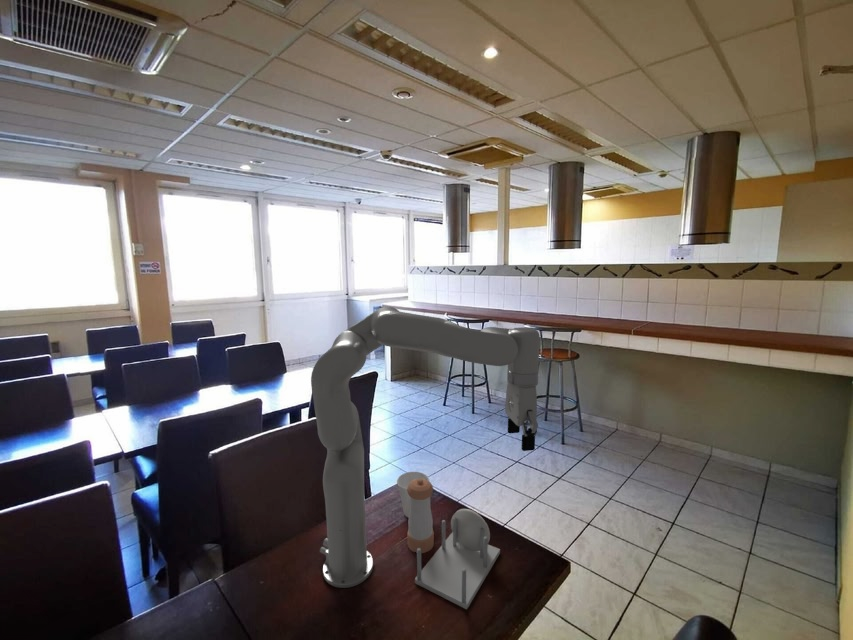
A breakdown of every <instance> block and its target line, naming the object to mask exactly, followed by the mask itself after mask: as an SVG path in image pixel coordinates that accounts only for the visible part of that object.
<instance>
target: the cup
mask: <svg viewBox="0 0 853 640" xmlns="http://www.w3.org/2000/svg"><path fill="white" fill-rule="evenodd" d="M415 479H426V480H428V481H429V482H430V478H429V476H428V475H427V474H425V473H423V472H419V471H408V472H405V473H402V474H400V475H399V476H398V478H397V480H396V484H397V485H398V490H399V491H398V492H399V495H400V501H401V505H402V512H403V515H404V516H405V517H407V518H408V519H409V514H410V496H409V494H408V492H407V488H408V485H409V484H410V482H411V481H413V480H415Z"/></svg>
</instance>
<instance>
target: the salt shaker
mask: <svg viewBox="0 0 853 640" xmlns="http://www.w3.org/2000/svg"><path fill="white" fill-rule="evenodd" d="M407 492H408V494H409V496H410V514H409V518H408V520H407V521H408V524H407V525H408V530H407V533H406V534H407V537H406V538H407V547H408V549H409V550H410V551H411V552H413V553H415V552H416V554H417V549H418V548H420V549H421V554H425V553H428V552H430V551H431V550H432V549H433V547H434V546H435V545H434V543H435V541H434V540H435V539H434V538H435V536H434V535H435V532H434V529H433V524H434V523H433V522H434V521H433V514H432V510H431V496H432V495H433V492H434V486H433V484H432V483H431V482H430V480H429V481H428V480H426V479H415V480H413V481H411V482H410V484H409V485H408V488H407Z"/></svg>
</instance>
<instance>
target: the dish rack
mask: <svg viewBox="0 0 853 640" xmlns="http://www.w3.org/2000/svg"><path fill="white" fill-rule="evenodd" d="M450 529H451V533H450V534H449V536H448V537H446V535H447V534H446V520H445V519H443V520H441V545H440V547H439V548H438V549H437V550H436V551H435V553H434V554H433V556H432V557H431V558H430V559H429V560H428V562H427V563H426V565H424V567H423V568H422V553H421V549H420V548H418V549H417V553H416V568H417V569H416V572H417V573H416V574H417V575H416V576H415V578H414V584H416V585H418V586H420V587H421V588H424V589H426V590H428V591H429V592H432V593H433V594H436V595H438V596H439V597H442V598H443V599H445V600H448V601H449V602H450V603H452V604H455V605H457V606H458V607H461V608H463V609H465V610H468V608H469V607H470V605H471V603H472V602H473V600H474V598H475V597H476V595H477V593H478V591H479V590H480V588H481V586H482V584H483V583H484V581H485V580H486V577H487V576H488V575H489V573H490V571H491V570H492V568H493V566H494V564H495V562H496V560H497V559H498V558H499V555H500V554H501V549H500V548H498V547H496V546H494V545H490V544H489V543H490V539H491V533H490V528H489V525H488V523H487V522H486V520H485V519H484V518H483V517H482V516H481V515H480V514H479V513H477V512H476V511H474V510H472V509H470V508H460V509H458V510H457V511H456V512H455V513H453V515H452V517H451V519H450Z"/></svg>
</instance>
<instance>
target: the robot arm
mask: <svg viewBox="0 0 853 640" xmlns="http://www.w3.org/2000/svg"><path fill="white" fill-rule="evenodd" d="M540 337H541V336H540V332H539V330H537V329H535V328H531V327H524V326H522V327H514V328H507V327H506V328H505V327H496V326H489V327H484V328H482V329H480V330H476V329H472V328H468V327H466V326H463V325H460V324H458V323H454V322H452V321H450V320H448V319H445V318H441V317H436V316H430V315H424V314H416V313H411V312H405V311H403V312H402V311H400V310H398V309H397V308H395V307H393V306H382V307H380V308H378V309H376V310H374V311H373V312H372V313H370V314H369V315H367V316H365V317H364V318H363V319H360V321H358V322H357V323H355V324H353V325H351V326H350V327H348V328H347V329H346V330H344V331H342V332H341V333H340V334H338V336H336V338H335V339H334V341H333V343H332V346H331V347H330V348H329V349H328V350H327V351H326V352H325V353H323V354H322V355H321V356H320V357H319V358H318V360H317V361H316V363H315V364H314V366H313V368H312V372H311V377H310V384H311V393H312V398H313V406H314V413H315V418H316V419H315V420H316V427H317V435H318V438H319V440H320V441H319V442H321V444H322V445H323V447H325V448H326V450H327V451H326V452H327V453H326V459H325V461H324V462H325V463H324V467H323V468H324V469H323V474H322V487H323V488H322V489H323V494H324V503H325V517H326V535H327V537H326V538H324V539H323V541H322V545H323V546H321V547H320V548H319V552H320V553H321V554H323V555H325V561H324V563H323V566H322V575H323V579H324V580H325V582H326V583H328V585H331V586H332V587H334V588H339V589H340V588H341V589H343V588H344V589H346V588H347V589H348V588H352V587H355V586H358V585H360V584H362V583H363V582H364V581H366V580H367V578H369V577H370V575H371V573H372V572H373V568H374V558H373V555H372V554H371V552H370V551H368V550H367V526H366V520H367V519H366V500H365V497H366V495H365V449H364V441H363V436H362V428H361V422H360V416H359V411H358V408H357V407H356V405H355V404H354V403H353V402H352V401H351V391H350V386H349V385H350V384H349V383H350V380H351V378H352V377H353V376H354V375H356V374H357V373H359V372H360V371H361V370H362V369H363V367H364V366H365V364H366V361H367V356H368V355H369V354H371V353H373V352H374V351H376V350H377V349H379V348H380V347H382V346H384V347H385V346H386V347H389V348H397V349H403V350H410V351H419V352H425V353H432V354H436V355H441V356H442V357H446V358H447V357H448V358H451V359H456V360H458V361H459V360H460V361H463V362H468V363H473V364H478V365H485V366H495V367H503V366H504V367H505V366H507V375H506V377H507V379H506V382H507V385H506V393H505V405H504V406H505V407H504V408H505V409H504V411H505V415H506V416H507V433H508V434H518V433H519V434H520V431H521V429H522V434H521V450H522V451H523V452H526V451H535V448H536V447H535V446H536V435H537V433H538V427H539V424H538V421H537V417H538V415H537V414H538V402H537V401H538V398H537V397H538V395H537V386H538V384H539V364H540V363H539V361H540V343H541V342H540V340H541V339H540ZM527 427H529V428H528V429H527ZM520 428H521V429H520Z"/></svg>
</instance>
